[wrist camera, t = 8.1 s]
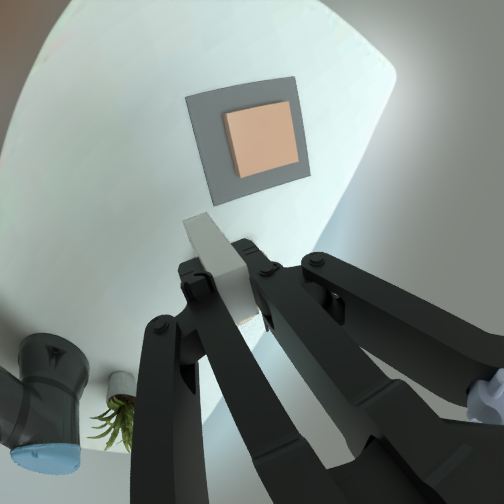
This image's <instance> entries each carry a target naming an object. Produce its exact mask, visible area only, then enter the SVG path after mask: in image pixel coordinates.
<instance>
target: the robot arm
mask: <svg viewBox="0 0 504 504" xmlns="http://www.w3.org/2000/svg"><path fill="white" fill-rule="evenodd" d="M183 223H184V226H185V229H186V232H187V235H188V238H189V241H190V244H191V246H192V249H193V252H194V255H195V258H193V259H191V260H188V261H186V262H183V263H181V264H180V265H179V268H178V273H179V276H180V279H181V289H182V292H183V294H184V296H185V298H186V301H187V305H186V307H185V309H184V310H183V311H182V312H181V313H180V314H178V315H177V316H175V317H173V316H171V315H160V316H157V317H155V318H154V319H152V320H151V321H150V322H149V323H148V324H147V326H146V329H145V333H144V340H143V346H142V352H141V359H140V366H139V374H138V382H137V390H136V399H135V409H134V419H133V432H132V447H131V471H130V472H131V473H130V504H209V498H208V491H207V480H206V472H205V460H204V449H203V438H202V437H203V436H202V422H201V405H200V386H199V363H198V360H199V359H201V358H202V357H203V356H205V355H207V357H208V360H209V362H210V365H211V367H212V370H213V372H214V375H215V377H216V380H217V382H218V384H219V387H220V389H221V392H222V394H223V396H224V398H225V401H226V403H227V405H228V408H229V410H230V412H231V414H232V417H233V419H234V421H235V423H236V426H237V427H238V430H239V432H240V434H241V436H242V438H243V441H244V443H245V445H246V446H247V449H248V451H249V453H250V455H251V458H252V462H253V464H254V467H255V469H256V471H257V473H258V475H259V477H260V479H261V481H262V483H263V485H264V486H265V488H266V490H267V492H268V494H269V496H270V498H271V499H272V501H273V503H274V504H504V336H500V335H495V334H490V333H487V332H485V331H483V330H481V329H480V328H478V327H476V326H474V325H472V324H470V323H468V322H466V321H464V320H462V319H460V318H458V317H457V316H455V315H453V314H451V313H449V312H447V311H445V310H443V309H441V308H439V307H437V306H435V305H433V304H431V303H429V302H427V301H425V300H423V299H421V298H419V297H417V296H415V295H413V294H411V293H409V292H407V291H405V290H403V289H401V288H399V287H397V286H395V285H392V284H391V283H388V282H386V281H384V280H382V279H380V278H378V277H376V276H374V275H372V274H370V273H367V272H366V271H363V270H361V269H359V268H357V267H355V266H353V265H351V264H349V263H346V262H344V261H342V260H340V259H338V258H336V257H334V256H331V255H329V254H327V253H324V252H313V253H309V254H307V255H305V256H304V257H303V258H302V261H301V265H299V266H294V267H283V266H282V265H281V264H279V263H278V262H273V261H270V260H269V259H268V258H267V257H266V256H265V255H264V254H263V253H262V251H261V250H259V248H258V247H257V246H256V245H255V244H254V243H253V242H252V241H251V240H248V239H245V238H244V239H241V240H238V241H236V242H233V243H230V242H229V241H228V240H227V238H226V237H225V236H224V234H223V233H222V232H221V230H220V229H219V228H218V227H217V225H216V224H215V223H214V221H213V220H212V219H211V217H210V216H209V215H208V213H207V212H205V213H203V214H200V215H197V216H195V217H192V218H189V219H186V220H184V221H183ZM335 294H336V295H335ZM337 295H338V296H337ZM257 306H258V307H257ZM258 308H259V309H260V310H261V312H262V316H263V320H264V324H265V328H266V331H267V332H268V331H269V329H270V331H271V332H272V334H273V335H274V336H275V338H276V339H277V341H278V342H279V344H280V346H281V347H282V348H283V350H284V351H285V353H286V354H287V356H288V357H289V359H290V360H291V362H292V363H293V365H294V366H295V368H296V369H297V370H298V372H299V373H300V375H301V376H302V378H303V379H304V381H305V382H306V383H307V385H308V386H309V388H310V389H311V391H312V392H313V394H314V395H315V396H316V398H317V399H318V401H319V402H320V403H321V405H322V406H323V408H324V409H325V411H326V412H327V413H328V415H329V416H330V417H331V419H332V420H333V422H334V423H335V425H336V426H337V427H338V429H339V430H340V431H341V433H342V434H343V436H344V438H345V440H346V443H347V445H348V448H349V449H350V451H351V453H352V454H353V456H354V457H355V460H353V461H352V462H349V463H346V464H343V465H340V466H337V467H333V468H330V469H326V468H325V467H324V465H323V464H322V462H321V461H320V459H319V458H318V456H317V455H316V453H315V452H314V450H313V449H312V447H311V446H310V444H309V443H308V441H307V440H306V439H305V438H304V437H303V436H301V434H299V432H298V430H297V429H296V427H295V425H294V424H293V422H292V421H291V419H290V417H289V416H288V414H287V412H286V411H285V409H284V407H283V406H282V404H281V402H280V401H279V399H278V397H277V396H276V394H275V393H274V391H273V389H272V387H271V386H270V384H269V382H268V380H267V379H266V377H265V375H264V374H263V372H262V370H261V368H260V367H259V365H258V363H257V361H256V360H255V358H254V356H253V354H252V353H251V351H250V349H249V347H248V345H247V344H246V342H245V340H244V338H243V336H242V335H241V333H240V331H239V329H238V327H237V326H236V323H238V322H241V321H243V320H245V319H248V318H250V317H252V316H255V315H257V314H259V311H258ZM268 328H269V329H268ZM359 346H360V347H361V348H363V349H365V350H366V351H368V352H369V353H371V354H372V355H374V356H375V357H377V358H379V359H380V360H382V361H383V362H385V363H386V364H388V365H390V366H391V367H393V368H394V369H396V370H398V371H399V372H401V373H402V374H404V375H405V376H407V377H408V378H410V379H412V380H413V381H415V382H416V383H418V384H420V385H421V386H423V387H424V388H426V389H428V390H429V391H431V392H433V393H434V394H436V395H437V396H439V397H441V398H443V399H445V400H446V401H448V402H451V403H454V404H456V405H459V406H463V407H467V408H468V410H467V417H468V419H469V420H471V421H476V420H479V421H481V422H482V423H474V422H465V421H458V420H450V419H444V418H440V417H439V416H438V415H437V414H436V413H435V412H434V411H433V410H432V409H431V408H430V407H429V406H428V405H427V404H426V402H424V400H423V399H422V398H421V397H420V396H419V395H418V394H417V393H416V392H415V391H414V390H413V389H412V388H411V387H410V386H409V385H408V384H407V383H406V382H405V381H403V380H400V379H394V380H392V379H390V378H389V377H387V376H386V375H385V374H384V373H383V371H381V369H380V368H379V367H378V366H377V365H376V364H375V363H374V362H373V361H372V360H371V359H370V358H369V356H368V355H367V354H366V353H365V352H364V351H363V350H362V349H361V348H360V347H359ZM18 364H19V367H20V380H19V379H17V378H16V377H15V376H13V375H12V374H10V373H9V372H8V371H7V370H5V369H4V368H3V367H2V366H0V444H2V445H4V446H6V447H8V448H9V449H11V451H10V455H11V458H12V460H13V461H14V462H15V463H17V464H18V465H19V466H21V467H23V468H25V469H28V470H31V471H34V472H38V473H43V474H51V475H65V474H70V473H73V472H75V471H76V470H78V468H79V466H80V451H81V447H80V434H79V400H80V398H81V396H82V393H83V390H84V388H85V387H86V385H87V383H88V379H89V364H88V361H87V359H86V357H85V356H84V354H83V353H82V352H81V351H80V350H79V349H78V348H77V347H76V346H75V345H73V344H72V343H70V342H69V341H67V340H65V339H63V338H61V337H58V336H55V335H51V334H34V335H31V336H28V337H27V338H25V339H24V340H23V342H22V343H21V346H20V349H19V353H18Z"/></svg>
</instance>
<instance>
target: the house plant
mask: <svg viewBox="0 0 504 504" xmlns="http://www.w3.org/2000/svg"><path fill="white" fill-rule="evenodd" d="M136 390H137V386H136V383H135V380H134V377H133V376H132V375H130V374H129V373H126V372H115V373H113V374H112V375H111V376H110V381H109V387H108V394H107V400H106V403H107V405H108V408H110V409H109V410H107V411H106V412H105V413H103V414H102V415H100V416H98V417H94V418H92V417H91V418H92V419H99V420H101V421H106V423H105V424H104V425H102V426H100V427H92V428H96V429H100V428H103V427H105V426H106V425H107V424H109V425H111V427H110V428H109V429H108V430H107V431H106V432H104V433H102V434H100V435H98V436H96V437H86V438H92V439H97V438H102V437H104V436H106V435H107V434H108V433H109V432H110V431H111V430H112V428H114V430H113V432H112V433H111V437H110V439H109V441H108V442H107V443H106V444H107V447H106V448H105V450H107V449H108V448H109V447H111V445H112V444H113V443H114V441H115V439H116V437H117V435H118V433H119V428H121V429H122V430H121V431H122V438H123V440H121V441H123V443H124V445H125V447H126V449H127V451H128V452H129V453H130V451H129V447H128V444H129V446H130V448H131V447H132V432H133V426H132V422H133V419H134V413H133V412H134V409H135V399H136ZM111 409H112V410H114V411H115V412H114V413H113V414H111V415H110V416H108V417H104V418H101V417H103V416H105V415H106V414H107V413H108V412H109V411H110V410H111ZM116 414H117V416H116ZM114 416H116V419H115V421H114V423H110V421H111V419H112V418H113V417H114ZM121 441H120V442H121ZM117 444H118V443H117ZM105 450H104V451H105Z"/></svg>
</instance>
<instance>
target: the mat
mask: <svg viewBox="0 0 504 504" xmlns="http://www.w3.org/2000/svg"><path fill="white" fill-rule="evenodd" d="M185 98H186V102H187V106H188V110H189V114H190V118H191V122H192V126H193V130H194V134H195V137H196V141H197V145H198V149H199V153H200V157H201V160H202V164H203V168H204V172H205V175H206V179H207V183H208V186H209V190H210V194H211V197H212V201H213V205H214V206H217V205H220V204H223V203H226V202H229V201H231V200H234V199H237V198H240V197H244V196H247V195H250V194H253V193H256V192H259V191H262V190H265V189H268V188H272V187H275V186H278V185H281V184H285V183H288V182H291V181H294V180H298V179H301V178H305V177H308V176H311V175H310V167H309V160H308V152H307V146H306V139H305V132H304V126H303V120H302V114H301V108H300V102H299V96H298V91H297V85H296V80H295V77H288V78H280V79H273V80H266V81H259V82H253V83H248V84H242V85H237V86H232V87H227V88H222V89H218V90H213V91H209V92H205V93H201V94H197V95H193V96H189V97H185ZM282 101H289V106H290V111H291V117H292V123H293V129H294V135H295V141H296V147H297V153H298V160H299V162H295V163H291V164H288V165H284V166H280V167H277V168H273V169H270V170H266V171H263V172H259V173H256V174H253V175H249V176H246V177H243V178H240V177H238V176H237V175H236V172H235V168H234V163H233V159H232V155H231V150H230V146H229V142H228V138H227V133H226V129H225V125H224V120H223V116H222V114H224V113H228V112H232V111H236V110H241V109H245V108H250V107H255V106H260V105H265V104H270V103H276V102H282Z"/></svg>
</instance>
